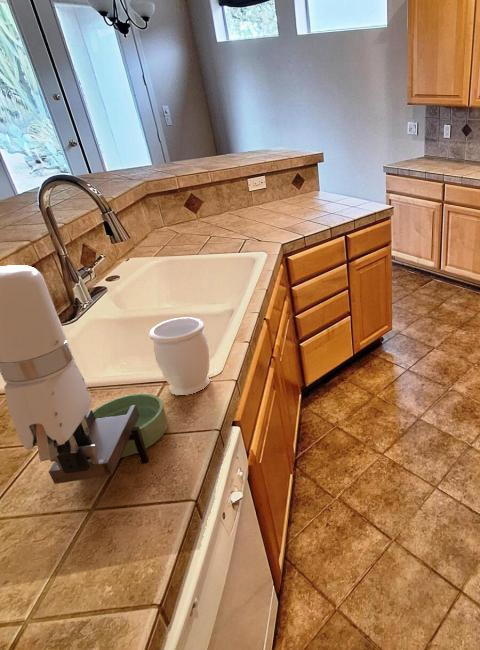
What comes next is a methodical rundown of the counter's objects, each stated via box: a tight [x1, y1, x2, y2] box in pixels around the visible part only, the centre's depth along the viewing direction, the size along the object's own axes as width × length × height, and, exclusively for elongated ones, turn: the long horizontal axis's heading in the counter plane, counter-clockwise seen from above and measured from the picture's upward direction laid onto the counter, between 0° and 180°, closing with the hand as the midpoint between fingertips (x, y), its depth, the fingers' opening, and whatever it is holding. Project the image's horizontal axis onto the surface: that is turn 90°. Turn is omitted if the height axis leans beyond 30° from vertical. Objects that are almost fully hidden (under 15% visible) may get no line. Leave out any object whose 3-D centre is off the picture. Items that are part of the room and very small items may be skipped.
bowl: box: [92, 392, 169, 458], centre depth 81 cm, size 13×13×5 cm
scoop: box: [48, 405, 139, 485], centre depth 70 cm, size 8×14×6 cm, turn 13°
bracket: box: [129, 426, 150, 465], centre depth 74 cm, size 11×1×8 cm, turn 103°
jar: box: [148, 316, 211, 396], centre depth 94 cm, size 11×10×15 cm
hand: (81, 463), depth 64 cm, fingers closed on scoop
